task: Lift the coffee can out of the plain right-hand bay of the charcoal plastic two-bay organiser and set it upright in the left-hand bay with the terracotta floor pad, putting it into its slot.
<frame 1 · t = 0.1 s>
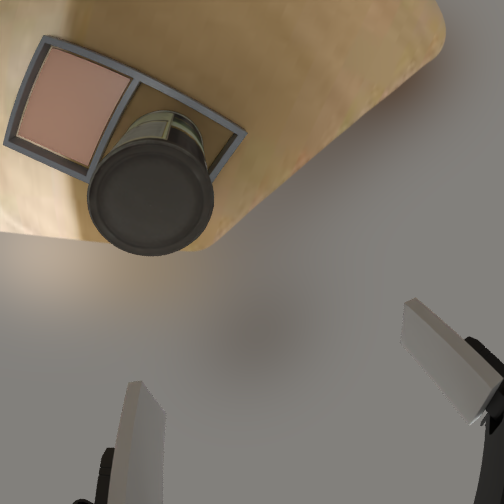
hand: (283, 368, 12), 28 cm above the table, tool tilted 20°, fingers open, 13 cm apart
coffee can: (161, 149, 31), resting in organiser
organiser: (113, 126, 27), on the table
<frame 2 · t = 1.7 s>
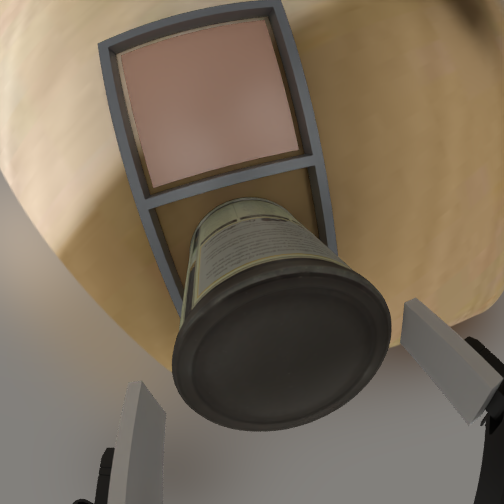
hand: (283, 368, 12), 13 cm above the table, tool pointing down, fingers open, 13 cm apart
coffee can: (248, 253, 24), resting in organiser
organiser: (228, 176, 22), on the table
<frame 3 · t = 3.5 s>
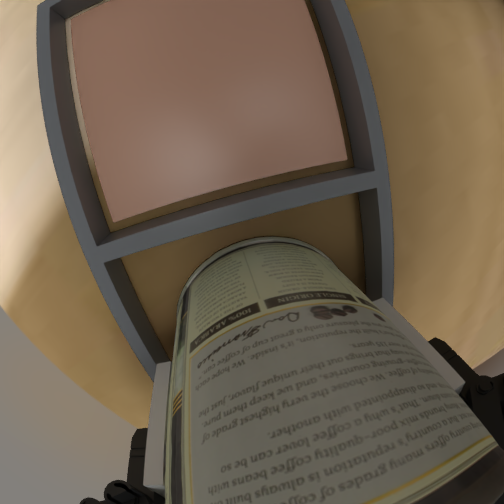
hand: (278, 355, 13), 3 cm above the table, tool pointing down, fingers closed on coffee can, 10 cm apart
coffee can: (265, 316, 16), resting in organiser, touching gripper
organiser: (235, 203, 13), on the table
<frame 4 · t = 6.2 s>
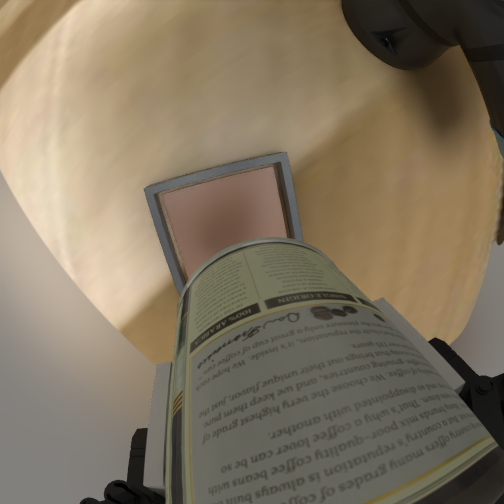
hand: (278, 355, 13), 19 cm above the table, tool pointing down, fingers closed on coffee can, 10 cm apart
coffee can: (265, 317, 16), point 16 cm above the table, touching gripper
organiser: (244, 286, 33), on the table
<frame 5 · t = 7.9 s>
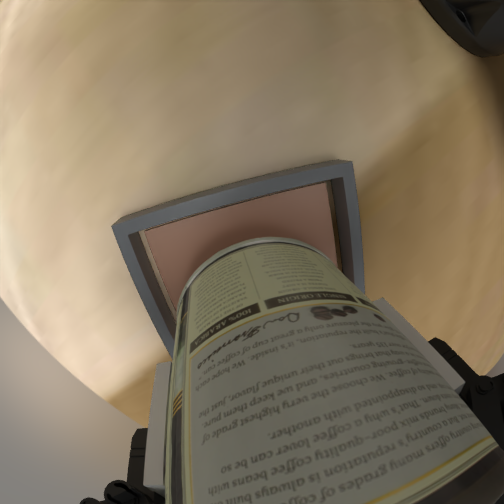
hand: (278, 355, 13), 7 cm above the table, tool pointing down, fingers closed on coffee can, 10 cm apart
coffee can: (265, 317, 16), point 4 cm above the table, touching gripper
organiser: (274, 354, 22), on the table
when the fingers open (5 cm above the table, at t = 9.3 s): coffee can drops 1 cm, resting on organiser.
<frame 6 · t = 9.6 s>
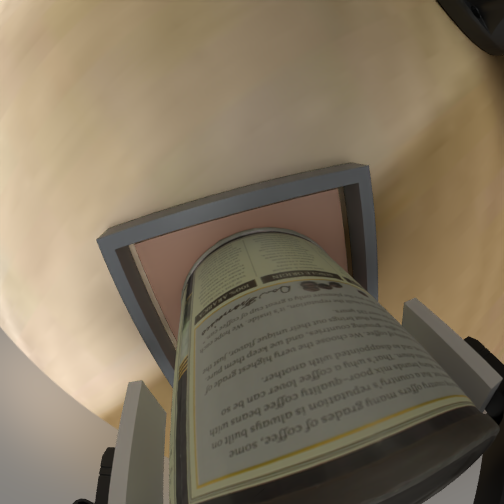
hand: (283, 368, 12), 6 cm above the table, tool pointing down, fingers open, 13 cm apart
coffee can: (263, 303, 17), resting on organiser
organiser: (279, 373, 20), on the table
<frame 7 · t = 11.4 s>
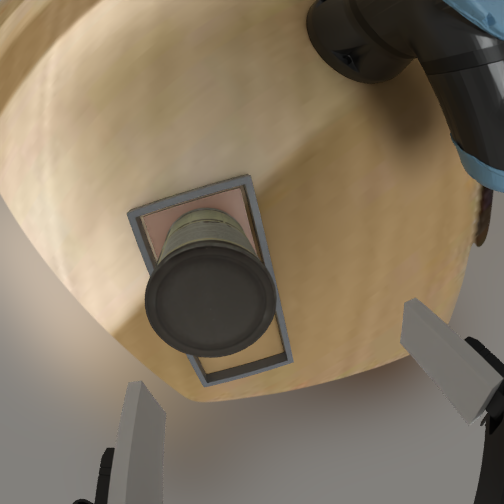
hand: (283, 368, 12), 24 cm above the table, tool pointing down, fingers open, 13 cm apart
coffee can: (206, 247, 34), resting on organiser
organiser: (220, 294, 37), on the table
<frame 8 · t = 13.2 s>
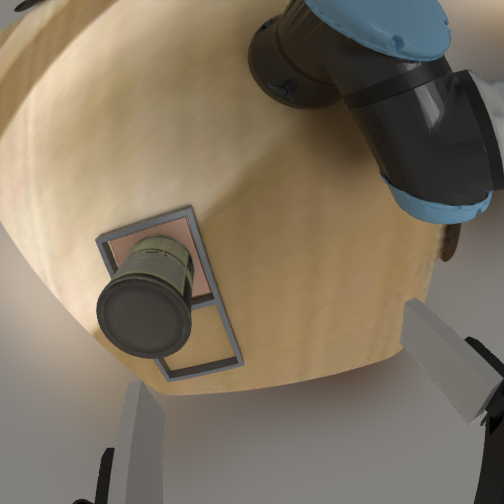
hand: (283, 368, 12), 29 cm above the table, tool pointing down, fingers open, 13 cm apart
coffee can: (160, 266, 39), resting on organiser
organiser: (175, 305, 42), on the table
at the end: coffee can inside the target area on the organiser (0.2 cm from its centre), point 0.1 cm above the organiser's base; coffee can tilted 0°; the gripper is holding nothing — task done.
